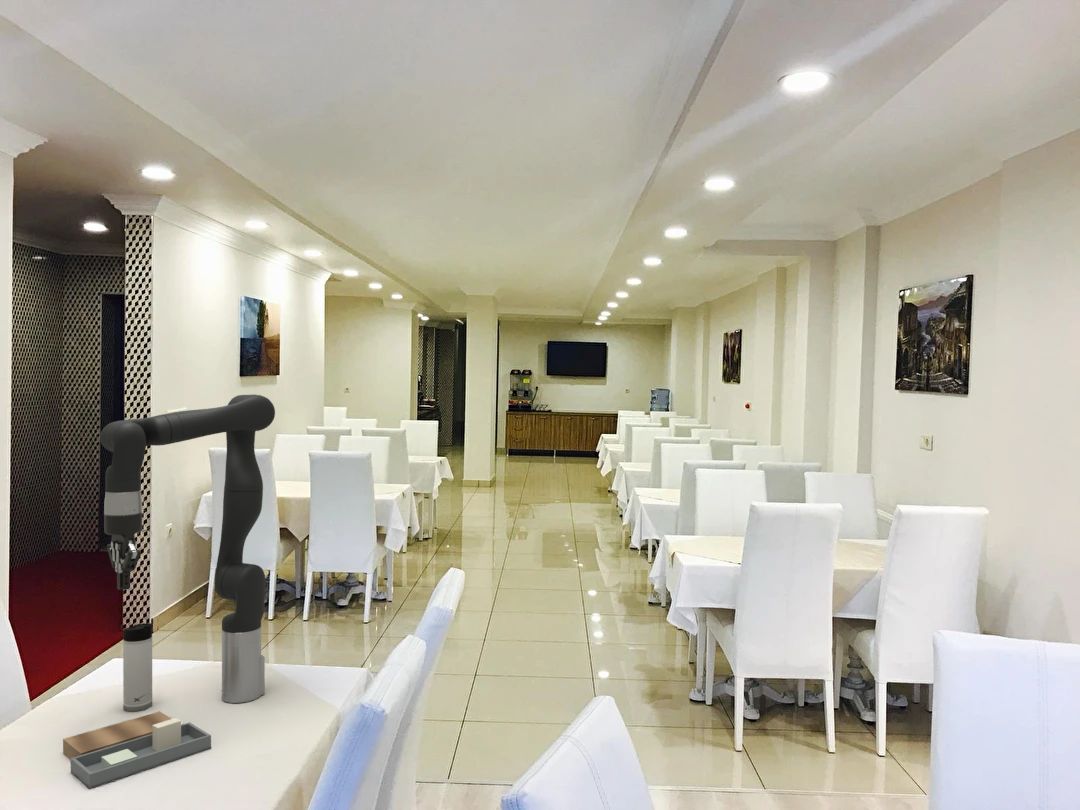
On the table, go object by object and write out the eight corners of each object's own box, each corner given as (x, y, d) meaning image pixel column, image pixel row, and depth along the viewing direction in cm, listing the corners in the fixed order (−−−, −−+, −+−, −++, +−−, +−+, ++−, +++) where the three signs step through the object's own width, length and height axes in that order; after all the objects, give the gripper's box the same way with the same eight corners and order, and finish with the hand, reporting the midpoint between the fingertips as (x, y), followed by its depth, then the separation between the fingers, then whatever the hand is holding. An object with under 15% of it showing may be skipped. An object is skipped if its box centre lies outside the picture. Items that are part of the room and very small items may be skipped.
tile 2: (175, 717, 176) (181, 720, 175) (175, 740, 177) (181, 743, 175) (152, 725, 173) (157, 728, 171) (152, 748, 173) (158, 751, 171)
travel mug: (141, 713, 192) (141, 628, 192) (117, 710, 194) (117, 627, 193) (159, 703, 198) (159, 621, 198) (135, 700, 200) (135, 619, 199)
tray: (189, 734, 181) (189, 722, 180) (211, 748, 174) (211, 735, 174) (70, 772, 163) (70, 758, 163) (89, 789, 156) (89, 774, 156)
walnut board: (159, 724, 186) (159, 711, 186) (179, 737, 179) (179, 723, 179) (63, 753, 171) (63, 739, 171) (80, 768, 164) (80, 753, 164)
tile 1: (137, 756, 164) (137, 768, 164) (127, 748, 167) (127, 760, 167) (111, 764, 160) (111, 776, 160) (101, 756, 163) (101, 768, 163)
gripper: (153, 512, 180) (153, 590, 180) (128, 506, 188) (129, 581, 189) (117, 516, 174) (117, 597, 174) (93, 510, 183) (94, 586, 183)
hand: (123, 588), depth 182 cm, fingers closed
